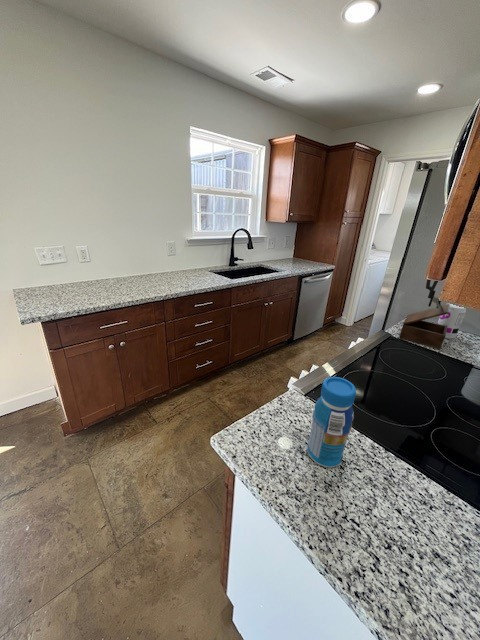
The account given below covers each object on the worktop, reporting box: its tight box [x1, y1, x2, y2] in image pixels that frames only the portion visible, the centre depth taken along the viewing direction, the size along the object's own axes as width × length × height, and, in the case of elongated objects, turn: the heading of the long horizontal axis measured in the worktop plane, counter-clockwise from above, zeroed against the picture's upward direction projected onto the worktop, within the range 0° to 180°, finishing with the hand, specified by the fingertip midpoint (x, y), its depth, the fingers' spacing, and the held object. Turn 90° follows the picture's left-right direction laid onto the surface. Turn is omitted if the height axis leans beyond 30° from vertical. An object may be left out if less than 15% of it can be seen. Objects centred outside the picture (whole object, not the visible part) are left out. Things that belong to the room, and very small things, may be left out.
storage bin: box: [398, 320, 447, 351], centre depth 119 cm, size 16×13×7 cm
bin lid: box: [402, 294, 450, 325], centre depth 116 cm, size 16×13×7 cm
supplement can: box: [437, 302, 467, 340], centre depth 122 cm, size 8×8×15 cm
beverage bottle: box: [306, 376, 357, 468], centre depth 59 cm, size 8×8×20 cm
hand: (433, 306), depth 114 cm, fingers closed on bin lid, 2 cm apart
